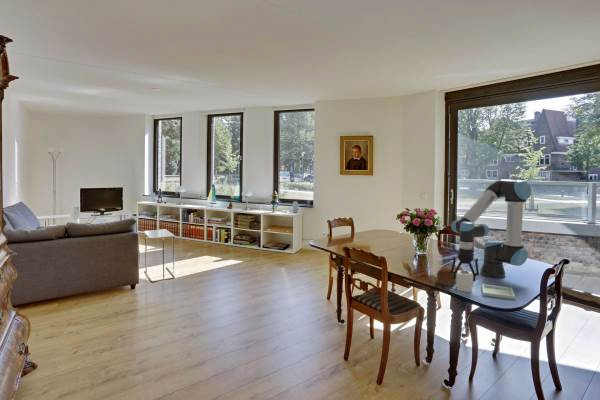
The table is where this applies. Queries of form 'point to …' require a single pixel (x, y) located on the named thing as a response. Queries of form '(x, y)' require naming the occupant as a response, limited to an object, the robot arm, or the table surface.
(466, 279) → the hollow block
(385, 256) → the table surface
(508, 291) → the tray
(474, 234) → the robot arm
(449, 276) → the bread
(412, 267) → the table surface
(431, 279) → the table surface
